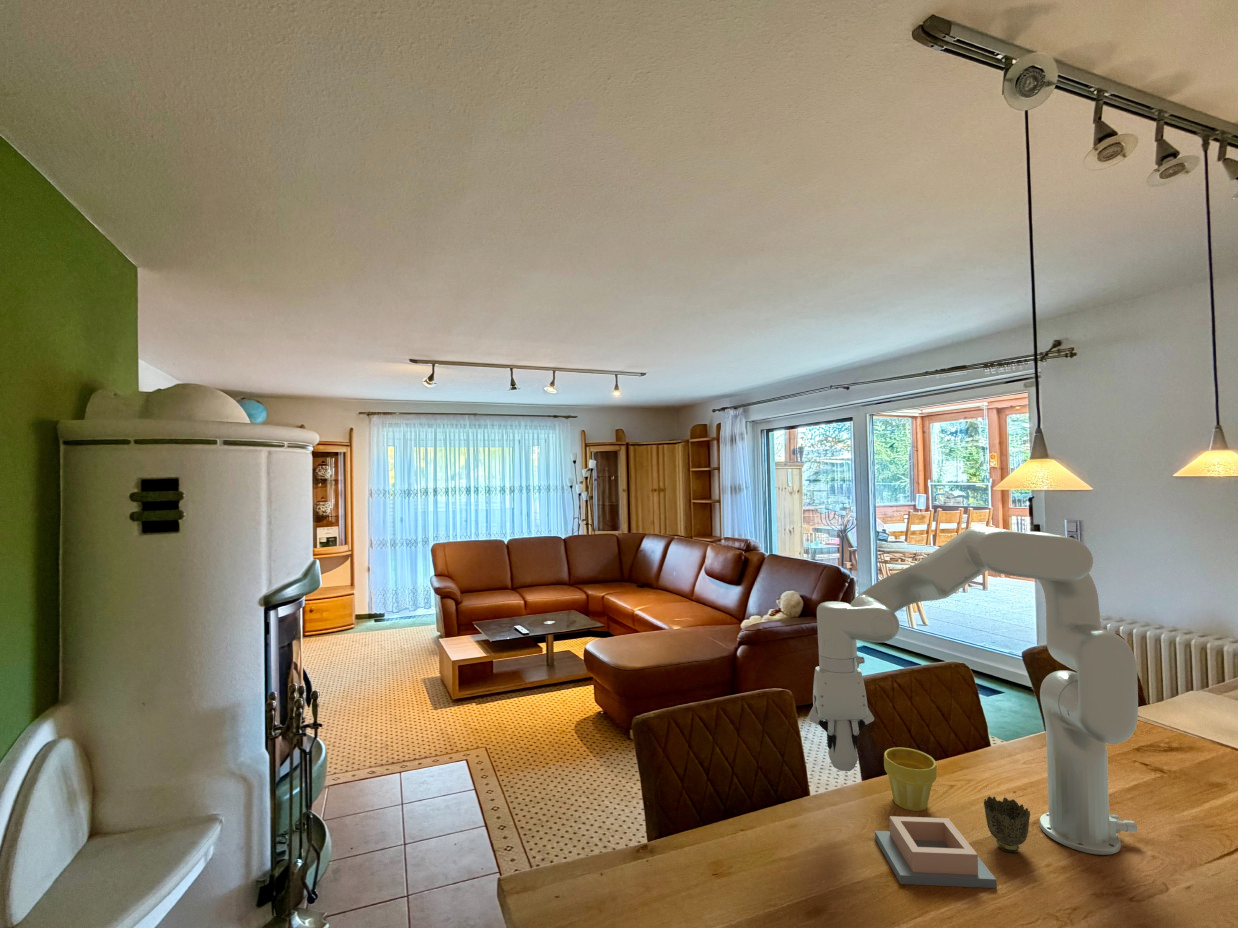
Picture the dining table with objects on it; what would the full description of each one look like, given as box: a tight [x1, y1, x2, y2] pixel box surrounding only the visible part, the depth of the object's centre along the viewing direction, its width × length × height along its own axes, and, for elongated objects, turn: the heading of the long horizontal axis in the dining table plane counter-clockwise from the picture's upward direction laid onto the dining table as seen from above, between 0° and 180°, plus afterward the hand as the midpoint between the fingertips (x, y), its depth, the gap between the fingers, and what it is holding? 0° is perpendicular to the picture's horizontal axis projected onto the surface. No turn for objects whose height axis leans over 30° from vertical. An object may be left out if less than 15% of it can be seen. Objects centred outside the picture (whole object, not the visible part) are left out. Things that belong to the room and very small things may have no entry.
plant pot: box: [883, 747, 937, 812], centre depth 129 cm, size 10×10×10 cm
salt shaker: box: [827, 720, 859, 772], centre depth 123 cm, size 6×6×13 cm
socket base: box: [874, 815, 998, 889], centre depth 109 cm, size 16×13×5 cm
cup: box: [983, 795, 1031, 853], centre depth 113 cm, size 8×7×8 cm
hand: (842, 750), depth 123 cm, fingers closed on salt shaker, 3 cm apart
